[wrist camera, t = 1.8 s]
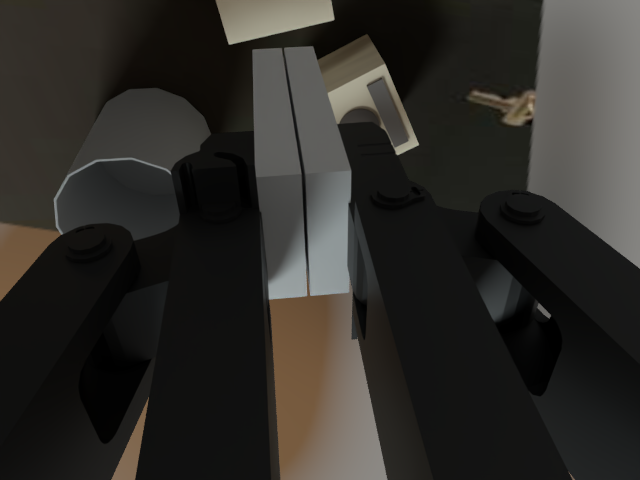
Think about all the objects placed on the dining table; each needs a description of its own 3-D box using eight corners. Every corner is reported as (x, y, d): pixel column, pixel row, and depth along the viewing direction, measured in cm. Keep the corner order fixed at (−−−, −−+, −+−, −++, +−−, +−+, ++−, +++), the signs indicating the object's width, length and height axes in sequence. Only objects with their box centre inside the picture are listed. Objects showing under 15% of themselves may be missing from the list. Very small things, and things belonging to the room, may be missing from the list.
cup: (205, 85, 37) (193, 153, 29) (220, 187, 42) (213, 269, 34) (79, 91, 36) (32, 163, 28) (109, 194, 41) (76, 280, 33)
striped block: (288, 75, 37) (294, 111, 32) (367, 33, 36) (385, 64, 31) (325, 143, 41) (336, 185, 36) (398, 107, 39) (419, 146, 35)
